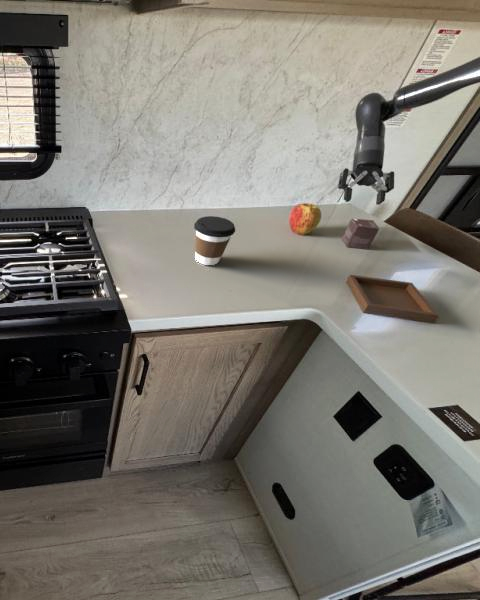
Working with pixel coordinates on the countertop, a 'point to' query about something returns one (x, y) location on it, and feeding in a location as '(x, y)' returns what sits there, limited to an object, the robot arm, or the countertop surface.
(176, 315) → the countertop surface
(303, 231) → the apple
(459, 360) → the countertop surface
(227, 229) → the coffee cup
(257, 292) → the countertop surface
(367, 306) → the brown wooden tray
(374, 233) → the box
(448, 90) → the robot arm
